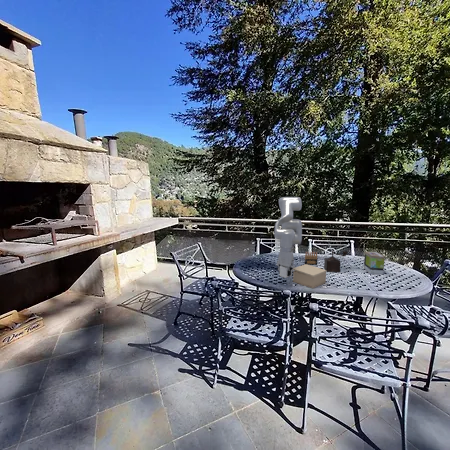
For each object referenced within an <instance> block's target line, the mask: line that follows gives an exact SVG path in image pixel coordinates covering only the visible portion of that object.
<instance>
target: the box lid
mask: <svg viewBox="0 0 450 450" xmlns="http://www.w3.org/2000/svg"><path fill="white" fill-rule="evenodd" d="M293 271H297V272H300V273H303V274H306V275H309V276H312V277H315V276H317V275H320V274H322V273H324V272H326V271H327V270H325V269H324V268H320V267H317V266H315V265H307V264H305V263H304V264H302V265H299V266H296V267H295V268H293ZM326 273H327V272H326Z"/></svg>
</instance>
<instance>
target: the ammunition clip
mask: <svg viewBox="0 0 450 450" xmlns="http://www.w3.org/2000/svg"><path fill="white" fill-rule="evenodd" d="M305 264H307V265H311V266H318V252H317V251H316V252H315V251H312V252H311V251H310V252H309V251H305V255H304V265H305Z"/></svg>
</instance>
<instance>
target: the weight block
mask: <svg viewBox="0 0 450 450" xmlns="http://www.w3.org/2000/svg"><path fill="white" fill-rule="evenodd" d="M287 273H288V267H286V266H283V265H282V266H280V271H279V277H281V278H284V279H287V278H289V277H293V271H292V270H291V275H290V276H287Z"/></svg>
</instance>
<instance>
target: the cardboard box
mask: <svg viewBox="0 0 450 450" xmlns="http://www.w3.org/2000/svg"><path fill="white" fill-rule="evenodd" d="M292 277H293V278H292V282H293V283H295V284H299V285H302V286H304V287H308V288H311V289H315V288H317V287H320V286H322V285H324V284H325V283H326V282H327V281H326V280H327V272H324V273H322V274H320V275H317V276H315V277H312V276H309V275H306V274H303V273H300V272H297V271H295V270H293V271H292Z"/></svg>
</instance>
